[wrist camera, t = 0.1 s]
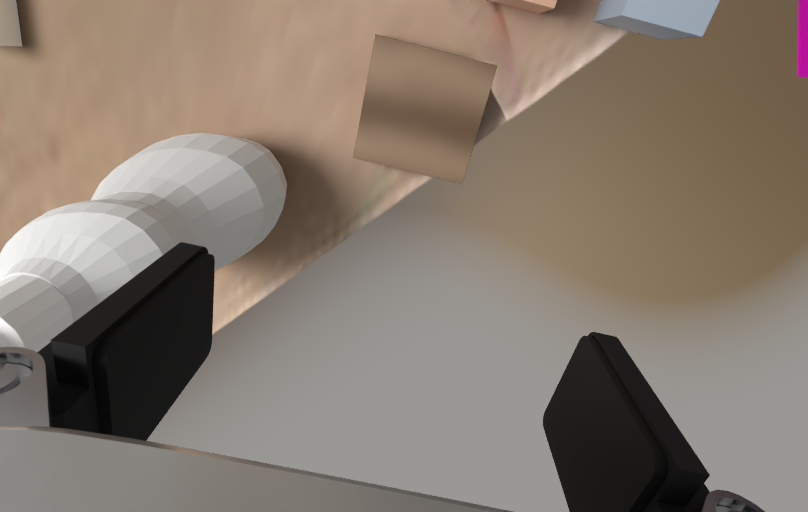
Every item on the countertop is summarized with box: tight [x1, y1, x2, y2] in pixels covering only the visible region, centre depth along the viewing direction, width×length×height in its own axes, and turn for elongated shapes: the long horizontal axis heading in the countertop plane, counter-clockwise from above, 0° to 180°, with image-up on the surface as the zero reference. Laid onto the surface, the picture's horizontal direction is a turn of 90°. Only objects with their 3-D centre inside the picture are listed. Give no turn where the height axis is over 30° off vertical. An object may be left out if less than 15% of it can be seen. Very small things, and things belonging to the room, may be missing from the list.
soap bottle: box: [0, 133, 287, 352], centre depth 30 cm, size 17×12×29 cm
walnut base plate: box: [353, 34, 497, 184], centre depth 38 cm, size 10×10×3 cm
